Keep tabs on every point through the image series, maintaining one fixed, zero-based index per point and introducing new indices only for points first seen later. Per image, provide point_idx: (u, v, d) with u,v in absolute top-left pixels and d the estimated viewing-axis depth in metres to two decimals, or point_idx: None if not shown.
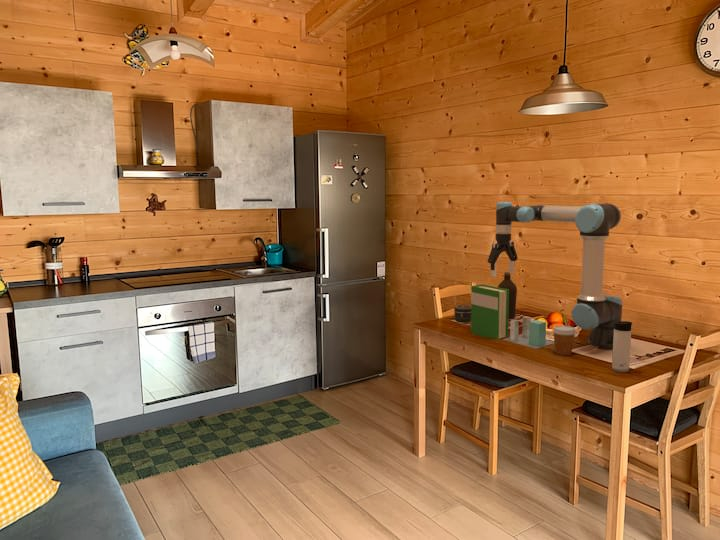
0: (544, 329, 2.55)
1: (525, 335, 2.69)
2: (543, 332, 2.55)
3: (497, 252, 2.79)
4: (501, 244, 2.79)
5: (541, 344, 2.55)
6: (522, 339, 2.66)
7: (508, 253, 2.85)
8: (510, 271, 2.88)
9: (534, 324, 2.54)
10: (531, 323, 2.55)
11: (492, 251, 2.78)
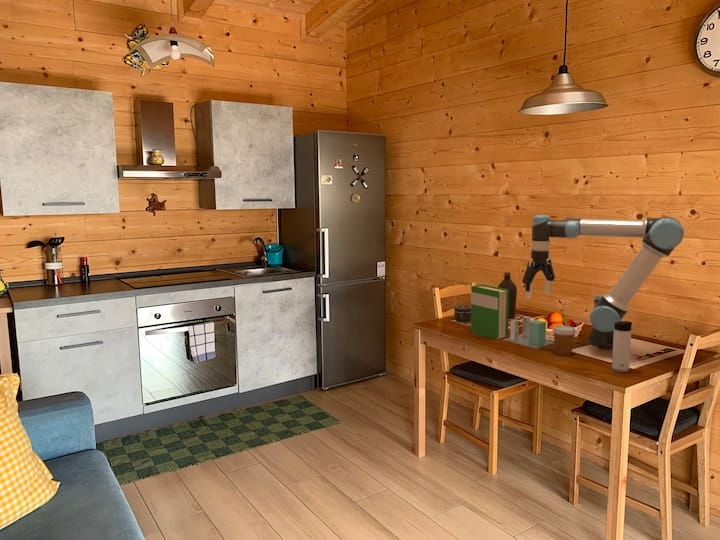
0: (544, 329, 2.55)
1: (525, 335, 2.69)
2: (543, 332, 2.55)
3: (533, 271, 2.50)
4: (537, 262, 2.50)
5: (541, 344, 2.55)
6: (522, 339, 2.66)
7: (545, 272, 2.55)
8: (546, 292, 2.58)
9: (534, 324, 2.54)
10: (531, 323, 2.55)
11: (527, 270, 2.48)
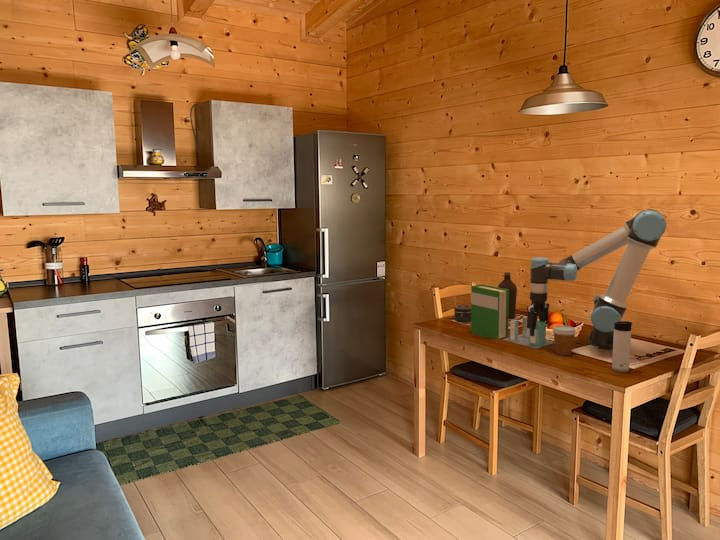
0: (544, 329, 2.55)
1: (525, 335, 2.69)
2: (543, 332, 2.55)
3: (534, 315, 2.53)
4: (536, 304, 2.52)
5: (541, 344, 2.55)
6: (522, 339, 2.66)
7: (540, 315, 2.56)
8: None
9: None
10: None
11: (529, 316, 2.52)
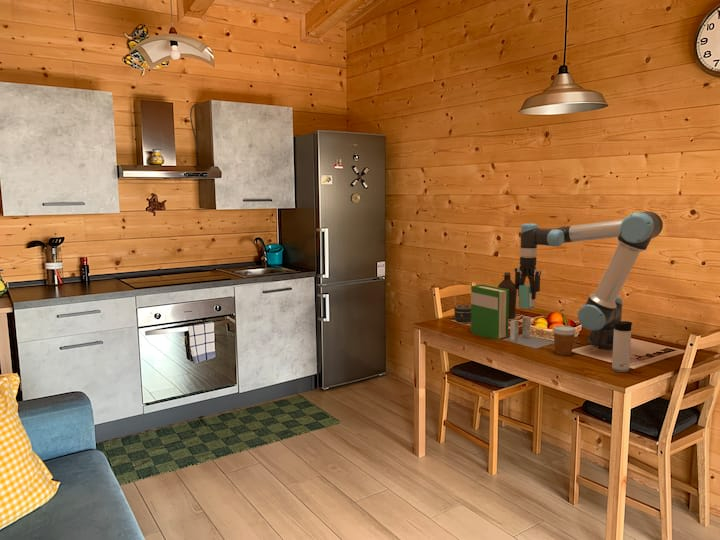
0: (526, 293, 2.64)
1: (525, 335, 2.69)
2: (525, 296, 2.64)
3: None
4: (521, 267, 2.66)
5: (522, 306, 2.67)
6: (522, 339, 2.66)
7: None
8: None
9: None
10: None
11: None
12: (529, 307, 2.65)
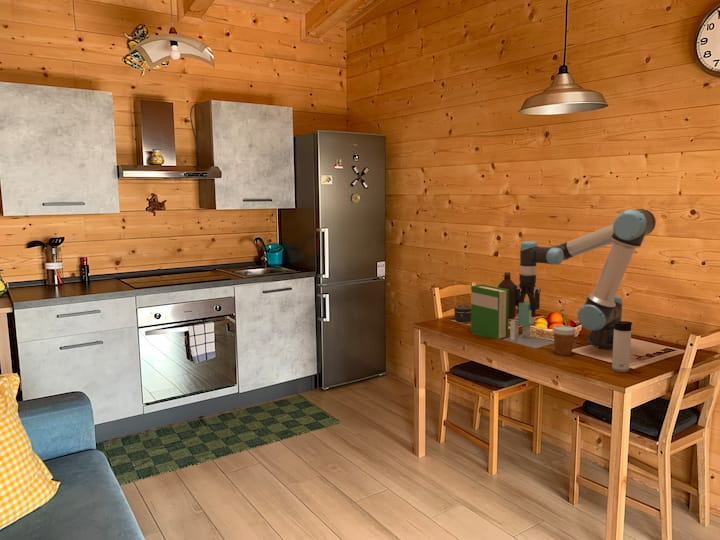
0: (525, 311, 2.65)
1: (525, 335, 2.69)
2: (525, 314, 2.66)
3: None
4: (521, 284, 2.68)
5: (522, 324, 2.68)
6: (522, 339, 2.66)
7: None
8: None
9: None
10: None
11: None
12: (529, 324, 2.66)
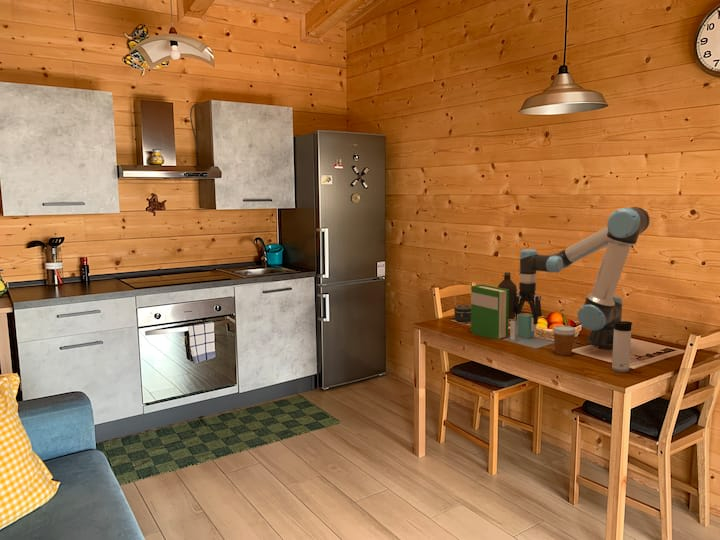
0: (525, 322, 2.66)
1: None
2: (525, 326, 2.66)
3: None
4: (521, 292, 2.68)
5: (522, 335, 2.69)
6: (522, 339, 2.66)
7: None
8: None
9: None
10: None
11: None
12: (529, 336, 2.67)
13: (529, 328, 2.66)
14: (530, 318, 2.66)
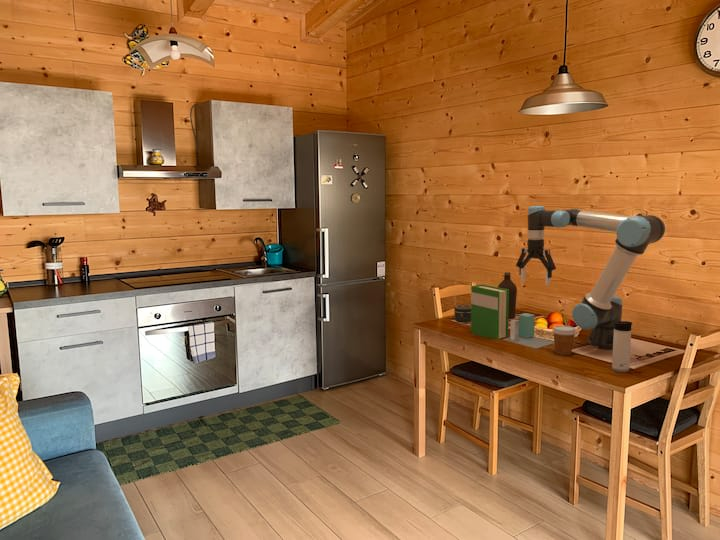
0: (525, 322, 2.66)
1: None
2: (525, 326, 2.66)
3: None
4: (529, 250, 2.68)
5: (522, 335, 2.69)
6: (522, 339, 2.66)
7: None
8: None
9: None
10: None
11: None
12: (529, 336, 2.67)
13: (529, 328, 2.66)
14: (530, 318, 2.66)
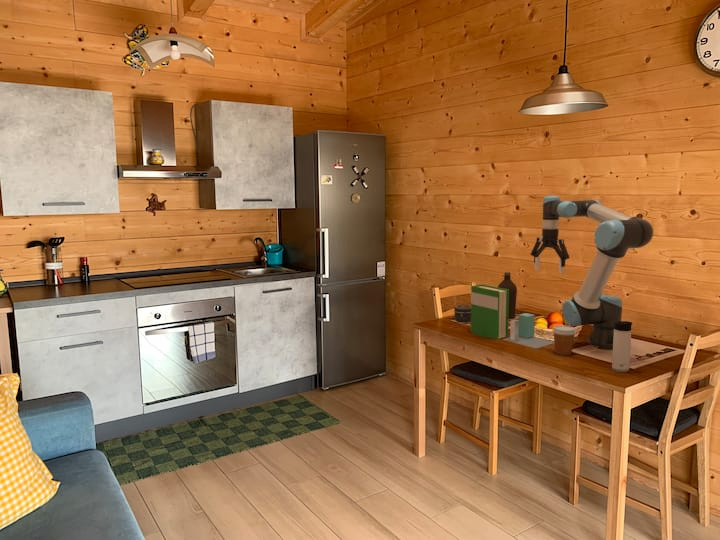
0: (525, 322, 2.66)
1: None
2: (525, 326, 2.66)
3: None
4: (544, 239, 2.74)
5: (522, 335, 2.69)
6: (522, 339, 2.66)
7: None
8: None
9: None
10: None
11: None
12: (529, 336, 2.67)
13: (529, 328, 2.66)
14: (530, 318, 2.66)
